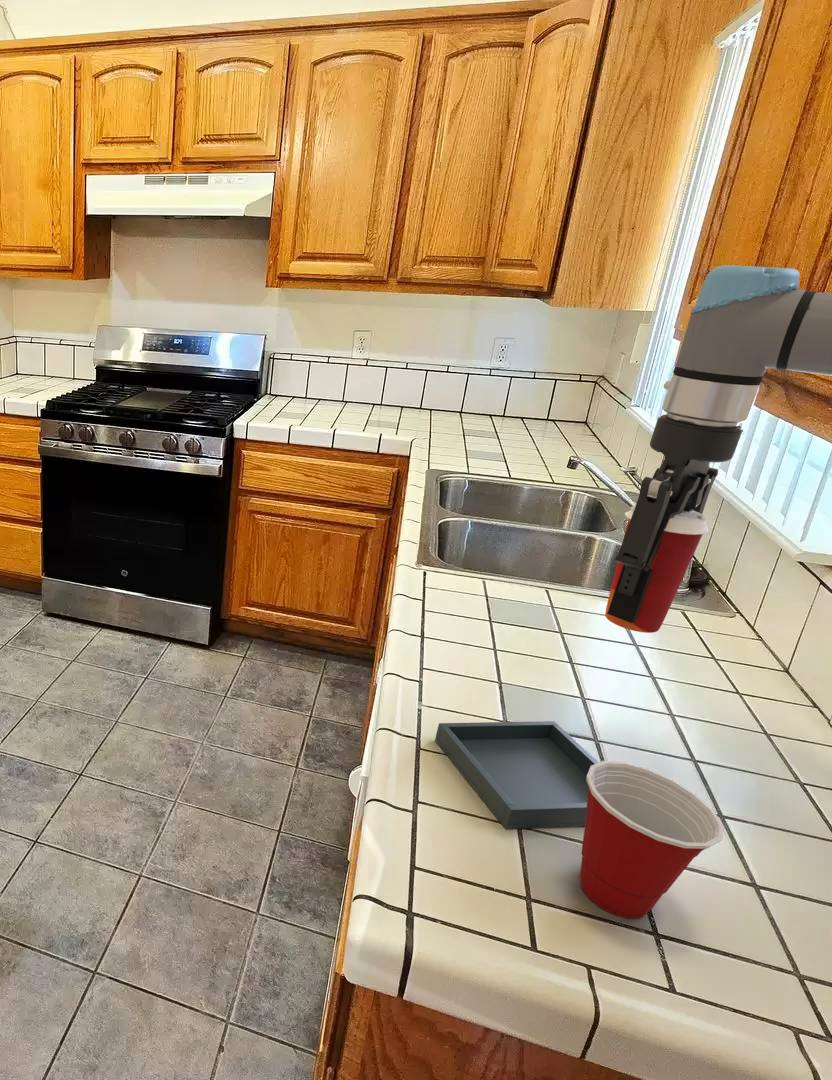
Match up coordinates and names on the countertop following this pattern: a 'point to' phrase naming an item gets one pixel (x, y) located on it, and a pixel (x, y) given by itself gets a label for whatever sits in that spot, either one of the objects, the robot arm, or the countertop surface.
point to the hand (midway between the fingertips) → (634, 610)
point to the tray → (522, 770)
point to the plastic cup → (639, 836)
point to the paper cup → (663, 570)
